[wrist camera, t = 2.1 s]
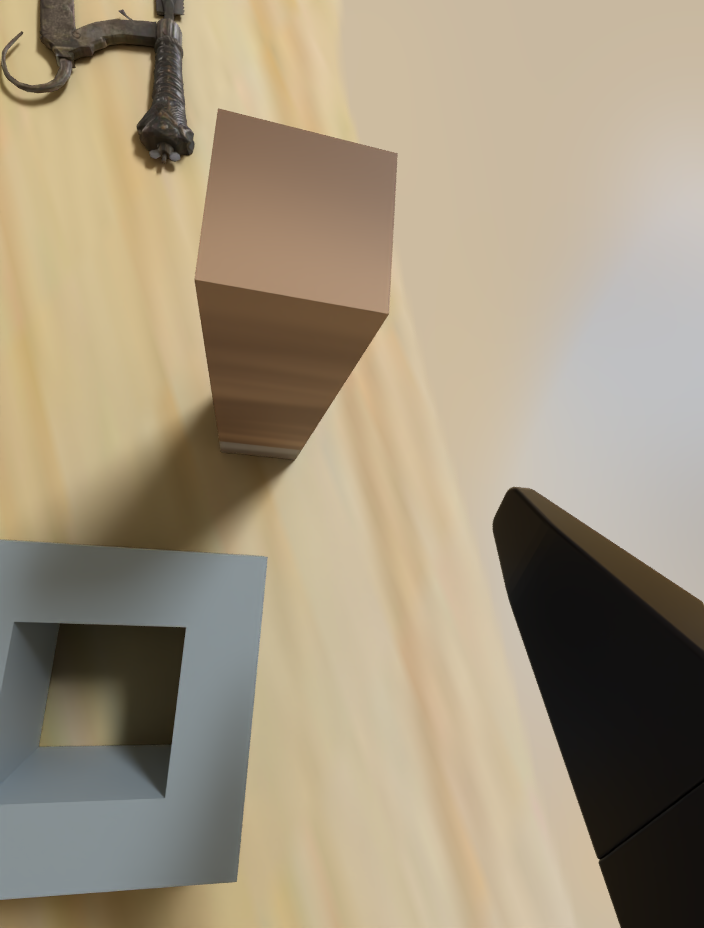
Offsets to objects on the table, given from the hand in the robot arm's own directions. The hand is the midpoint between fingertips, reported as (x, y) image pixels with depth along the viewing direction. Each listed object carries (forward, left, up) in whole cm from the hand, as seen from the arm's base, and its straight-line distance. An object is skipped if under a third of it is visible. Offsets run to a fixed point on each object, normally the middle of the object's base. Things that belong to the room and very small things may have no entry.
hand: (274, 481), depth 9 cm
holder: (-6, +4, -11) cm, 13 cm away
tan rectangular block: (+4, 0, -11) cm, 12 cm away
